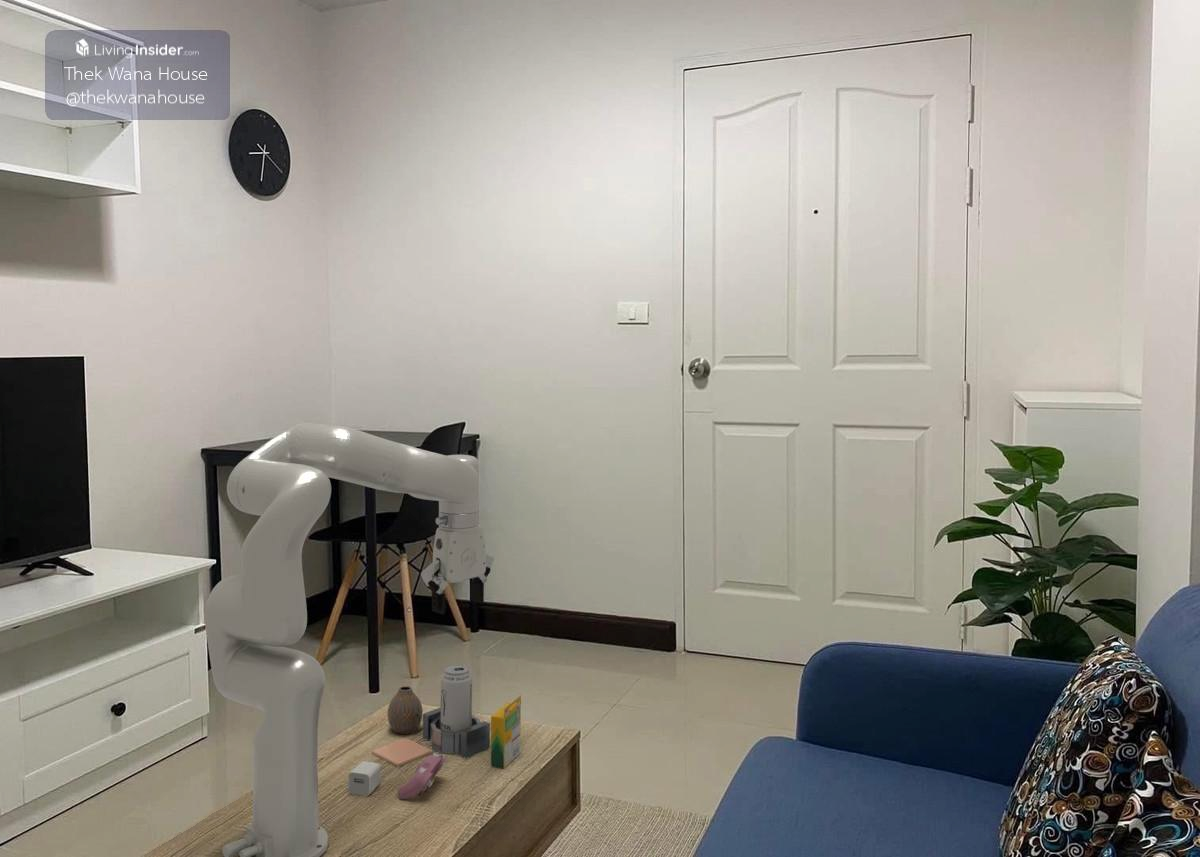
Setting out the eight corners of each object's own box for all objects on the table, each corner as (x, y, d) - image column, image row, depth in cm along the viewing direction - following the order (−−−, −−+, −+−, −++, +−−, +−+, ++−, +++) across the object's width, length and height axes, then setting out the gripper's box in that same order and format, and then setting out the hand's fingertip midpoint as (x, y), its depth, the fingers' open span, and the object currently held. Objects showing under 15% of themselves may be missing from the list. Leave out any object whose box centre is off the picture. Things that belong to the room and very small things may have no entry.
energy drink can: (437, 739, 188) (437, 665, 187) (466, 734, 190) (467, 662, 189) (444, 751, 183) (445, 676, 181) (474, 747, 185) (475, 672, 183)
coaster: (397, 766, 176) (397, 764, 176) (371, 753, 181) (371, 750, 181) (431, 752, 182) (431, 750, 182) (405, 740, 187) (405, 738, 187)
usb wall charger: (348, 793, 166) (348, 771, 165) (366, 775, 172) (366, 754, 172) (369, 796, 165) (369, 774, 164) (387, 778, 171) (387, 757, 171)
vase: (386, 724, 194) (386, 683, 193) (420, 721, 196) (420, 680, 195) (389, 738, 188) (389, 695, 187) (424, 735, 190) (424, 692, 189)
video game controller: (415, 811, 163) (433, 778, 162) (393, 796, 164) (410, 764, 163) (436, 784, 173) (453, 753, 172) (415, 771, 173) (432, 740, 172)
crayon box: (506, 750, 184) (508, 692, 183) (521, 753, 183) (522, 694, 182) (489, 766, 177) (490, 706, 176) (504, 769, 176) (505, 708, 175)
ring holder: (496, 745, 186) (496, 720, 186) (458, 761, 179) (459, 735, 178) (453, 726, 194) (453, 702, 194) (415, 740, 187) (415, 716, 186)
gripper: (436, 529, 173) (435, 621, 175) (505, 516, 186) (504, 601, 188) (410, 523, 178) (410, 612, 180) (479, 510, 191) (478, 594, 193)
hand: (458, 607), depth 184 cm, fingers open, 9 cm apart
